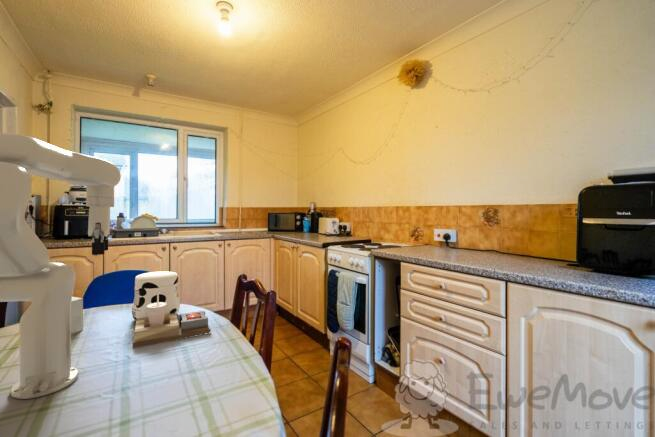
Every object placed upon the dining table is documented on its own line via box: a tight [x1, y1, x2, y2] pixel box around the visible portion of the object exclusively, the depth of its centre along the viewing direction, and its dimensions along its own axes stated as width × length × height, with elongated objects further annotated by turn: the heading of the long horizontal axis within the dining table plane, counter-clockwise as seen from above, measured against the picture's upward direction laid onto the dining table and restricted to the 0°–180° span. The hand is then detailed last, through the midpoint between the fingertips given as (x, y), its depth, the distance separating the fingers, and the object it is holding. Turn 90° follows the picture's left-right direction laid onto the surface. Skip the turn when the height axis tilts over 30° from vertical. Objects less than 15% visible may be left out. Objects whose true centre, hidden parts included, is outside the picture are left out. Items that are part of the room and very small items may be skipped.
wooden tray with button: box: [132, 310, 211, 349], centre depth 108 cm, size 14×24×5 cm, turn 121°
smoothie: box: [146, 292, 167, 327], centre depth 105 cm, size 6×6×14 cm
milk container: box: [131, 270, 181, 321], centre depth 122 cm, size 17×17×18 cm
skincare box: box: [71, 296, 84, 335], centre depth 107 cm, size 6×4×12 cm
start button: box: [186, 314, 201, 320], centre depth 112 cm, size 5×5×3 cm
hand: (100, 252), depth 100 cm, fingers open, 9 cm apart
